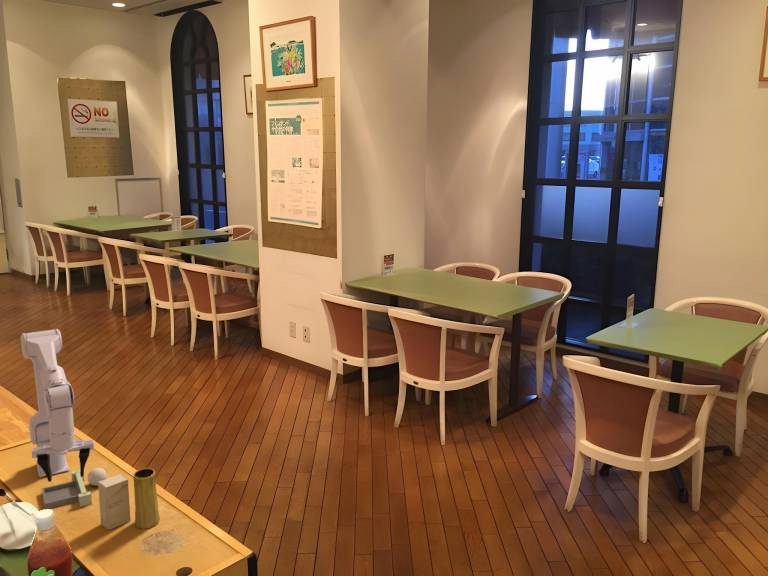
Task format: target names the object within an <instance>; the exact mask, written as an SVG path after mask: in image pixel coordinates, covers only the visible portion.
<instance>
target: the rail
mask: <svg viewBox="0 0 768 576" xmlns="http://www.w3.org/2000/svg"><path fill="white" fill-rule="evenodd" d="M70 474H71V481H75V480H77V483H78V486H79V489H80V492H81V494H78V497H79V501H78V506H79V507H80V508H81V507H84V506H89V505H92V504H93V502H92V493H91V490H90V491H87V489H86V486H85V483H84V481H85V475H84V476H83V477H81V476H80V469H76V470H72V471H71V473H70Z"/></svg>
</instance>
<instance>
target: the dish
mask: <svg viewBox="0 0 768 576" xmlns="http://www.w3.org/2000/svg"><path fill="white" fill-rule="evenodd" d="M41 493H42V499H43V503H44V508H49V509H53V508H56V507H60V506H64V505H67V504H73V503H76V502H77V503H78V502H79V497H78V494H81V492H80V489H79V486H78V483H77V480H75V481H72V480H71V481H68V482H63V483H59V484H55V485H50V486H47V487H42V488H41Z"/></svg>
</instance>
